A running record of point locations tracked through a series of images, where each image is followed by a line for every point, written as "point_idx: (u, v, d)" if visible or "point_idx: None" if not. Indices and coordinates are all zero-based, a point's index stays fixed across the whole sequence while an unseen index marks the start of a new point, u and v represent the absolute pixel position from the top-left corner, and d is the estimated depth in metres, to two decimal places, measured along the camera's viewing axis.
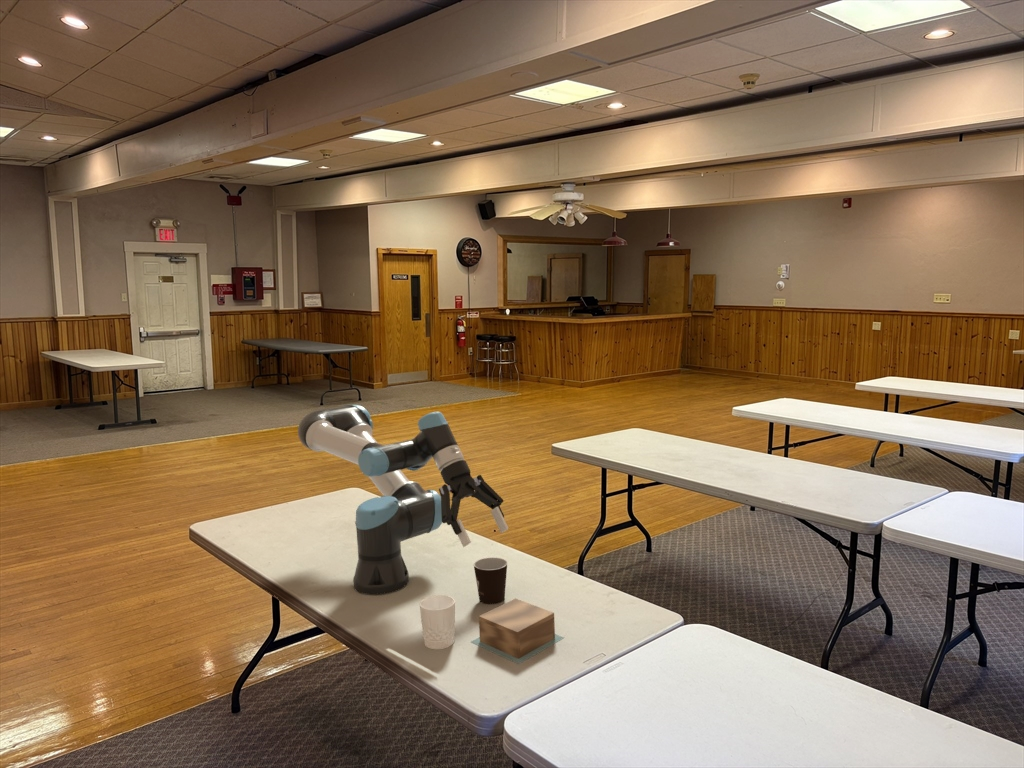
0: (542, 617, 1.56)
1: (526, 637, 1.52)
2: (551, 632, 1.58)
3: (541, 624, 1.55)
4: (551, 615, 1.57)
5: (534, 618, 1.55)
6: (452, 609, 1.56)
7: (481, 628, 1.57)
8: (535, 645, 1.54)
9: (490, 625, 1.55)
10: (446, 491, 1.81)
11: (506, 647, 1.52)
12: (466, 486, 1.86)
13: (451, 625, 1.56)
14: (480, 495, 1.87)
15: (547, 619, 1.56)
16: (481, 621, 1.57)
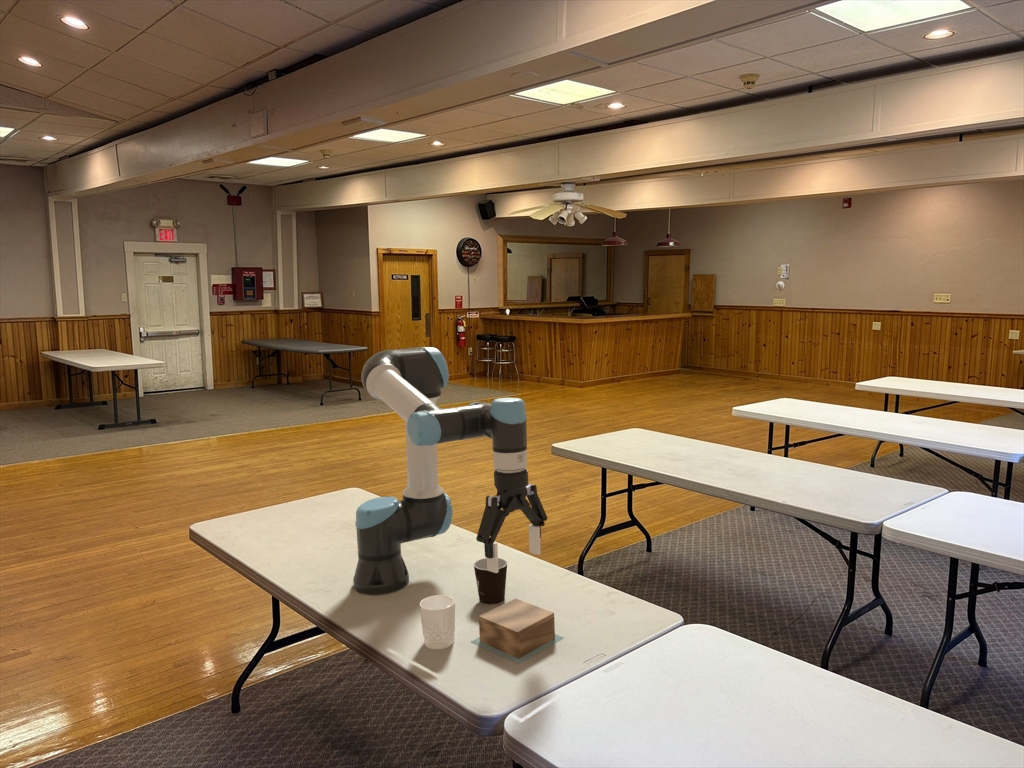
0: (542, 617, 1.56)
1: (526, 637, 1.52)
2: (551, 632, 1.58)
3: (541, 624, 1.55)
4: (551, 615, 1.57)
5: (534, 618, 1.55)
6: (452, 609, 1.56)
7: (481, 628, 1.57)
8: (535, 645, 1.54)
9: (490, 625, 1.55)
10: (494, 507, 1.49)
11: (506, 647, 1.52)
12: (516, 500, 1.54)
13: (451, 625, 1.56)
14: (526, 510, 1.57)
15: (547, 619, 1.56)
16: (481, 621, 1.57)
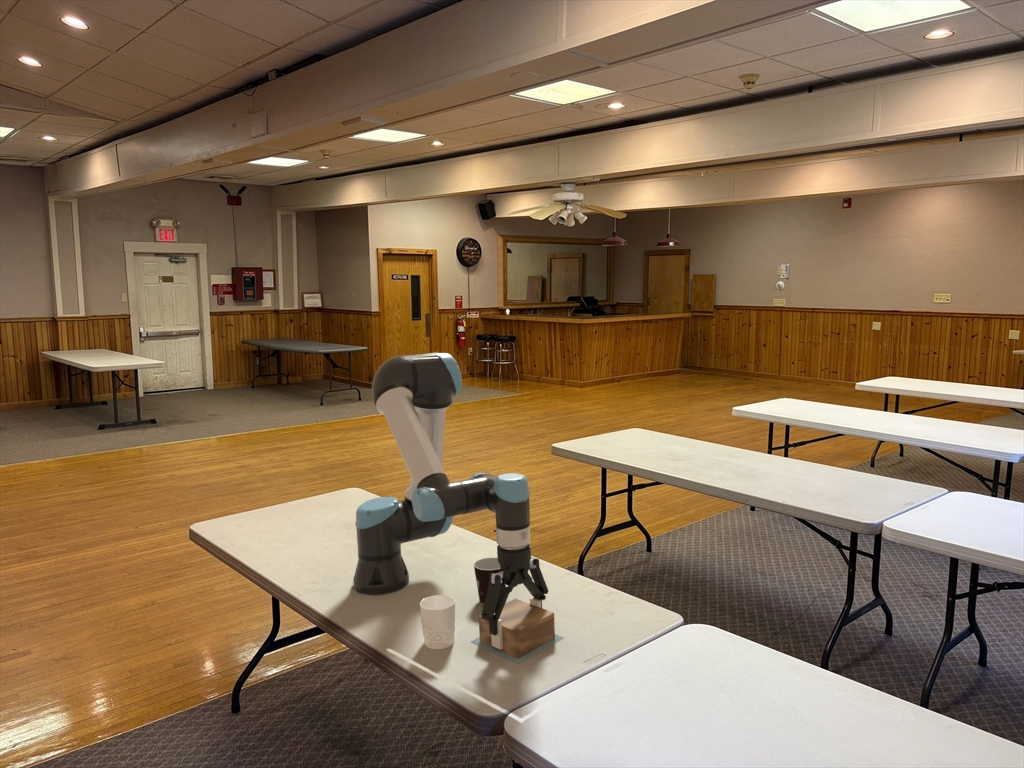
0: (542, 617, 1.56)
1: (526, 637, 1.52)
2: (551, 631, 1.58)
3: (541, 624, 1.55)
4: (551, 615, 1.57)
5: (534, 618, 1.55)
6: (452, 609, 1.56)
7: (481, 628, 1.58)
8: (535, 645, 1.54)
9: None
10: (497, 585, 1.51)
11: (506, 646, 1.52)
12: (519, 574, 1.56)
13: (451, 625, 1.56)
14: (528, 584, 1.59)
15: (547, 619, 1.56)
16: (481, 621, 1.57)
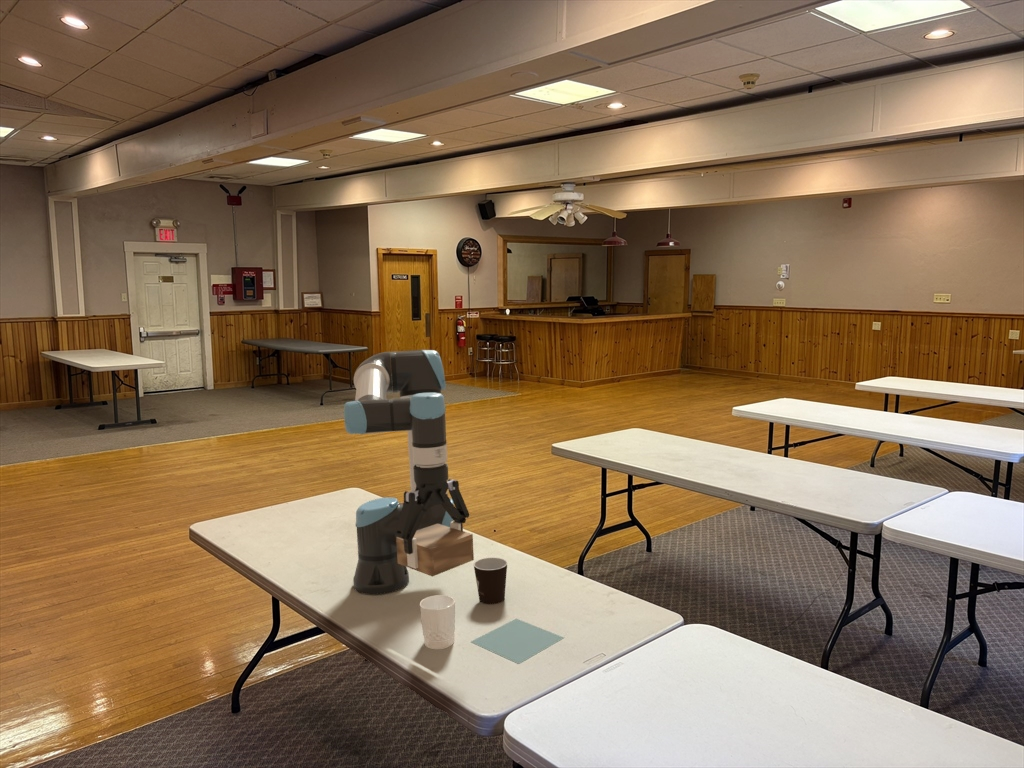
0: (459, 537, 1.54)
1: (441, 555, 1.50)
2: (469, 553, 1.56)
3: (458, 544, 1.53)
4: (469, 536, 1.56)
5: (451, 538, 1.54)
6: (452, 609, 1.56)
7: (398, 549, 1.56)
8: (451, 565, 1.52)
9: None
10: (411, 502, 1.49)
11: (421, 565, 1.51)
12: (436, 494, 1.54)
13: (451, 625, 1.56)
14: (447, 506, 1.57)
15: (465, 540, 1.55)
16: (398, 542, 1.56)
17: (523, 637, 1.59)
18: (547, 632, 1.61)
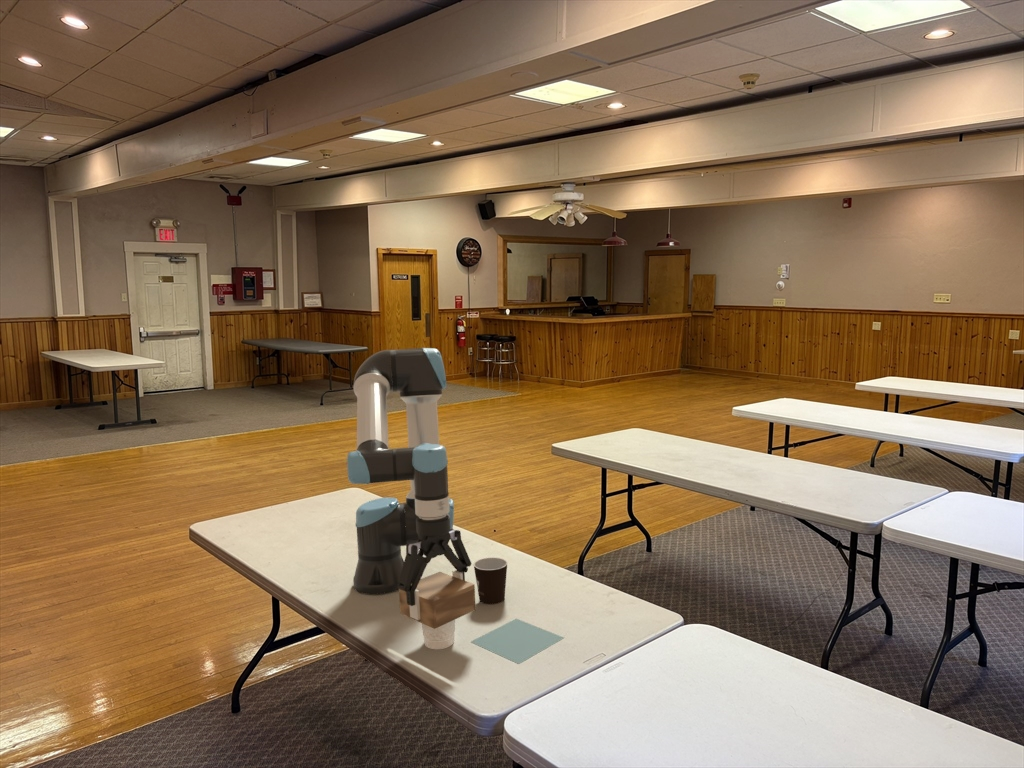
0: (461, 588, 1.55)
1: (443, 607, 1.51)
2: (471, 603, 1.57)
3: (460, 595, 1.55)
4: (471, 586, 1.57)
5: (453, 589, 1.55)
6: None
7: (401, 600, 1.57)
8: (453, 616, 1.53)
9: None
10: (413, 555, 1.51)
11: (423, 617, 1.52)
12: (438, 545, 1.56)
13: (451, 625, 1.56)
14: (449, 556, 1.59)
15: (467, 590, 1.56)
16: (401, 592, 1.57)
17: (523, 637, 1.59)
18: (547, 632, 1.61)
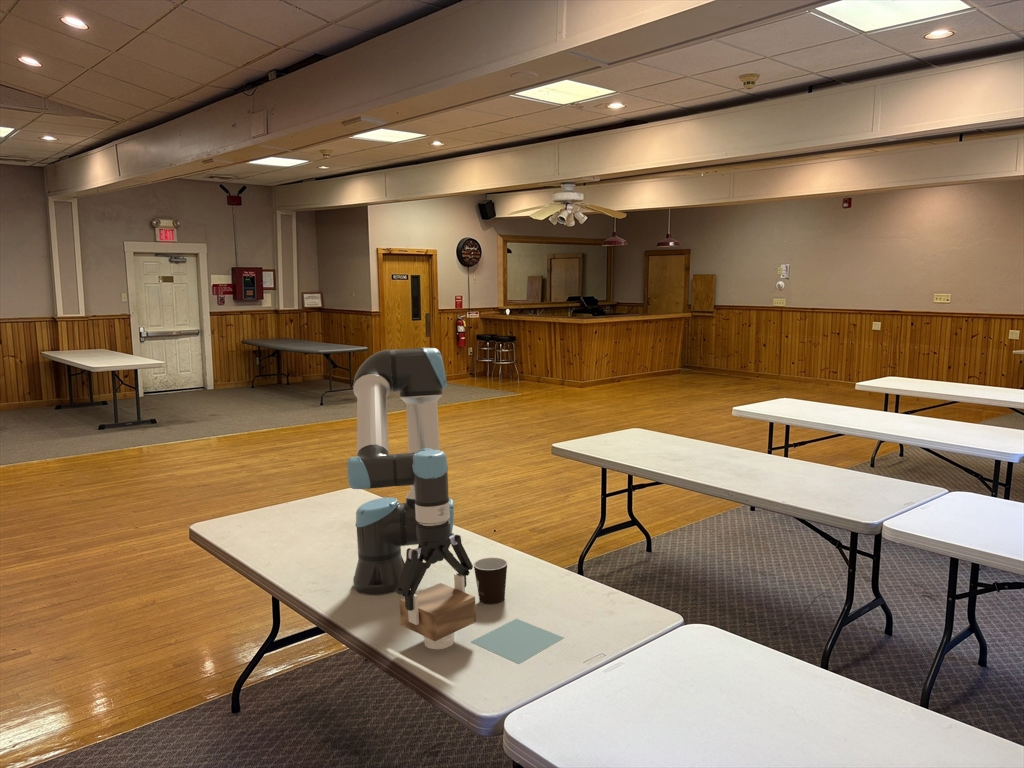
0: (462, 600, 1.56)
1: (443, 620, 1.51)
2: (472, 615, 1.58)
3: (461, 607, 1.55)
4: (472, 599, 1.57)
5: (454, 601, 1.55)
6: None
7: (402, 611, 1.57)
8: (454, 628, 1.54)
9: None
10: (413, 560, 1.51)
11: (424, 629, 1.52)
12: (439, 551, 1.56)
13: None
14: (450, 561, 1.59)
15: (467, 603, 1.56)
16: (401, 604, 1.57)
17: (523, 637, 1.59)
18: (547, 632, 1.61)
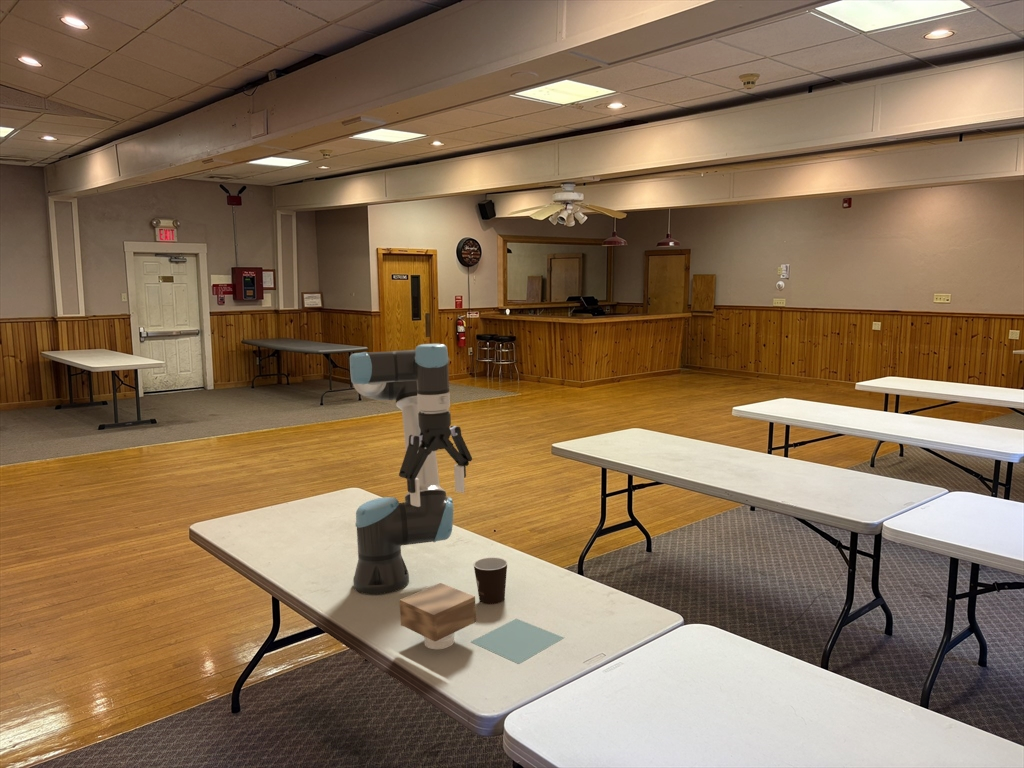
0: (462, 600, 1.56)
1: (443, 620, 1.51)
2: (472, 615, 1.58)
3: (461, 608, 1.55)
4: (472, 599, 1.57)
5: (454, 601, 1.55)
6: None
7: (402, 612, 1.57)
8: (454, 628, 1.54)
9: (409, 608, 1.55)
10: (415, 445, 1.59)
11: (424, 630, 1.52)
12: (439, 440, 1.64)
13: None
14: (450, 450, 1.67)
15: (467, 603, 1.56)
16: (401, 604, 1.57)
17: (523, 637, 1.59)
18: (547, 632, 1.61)
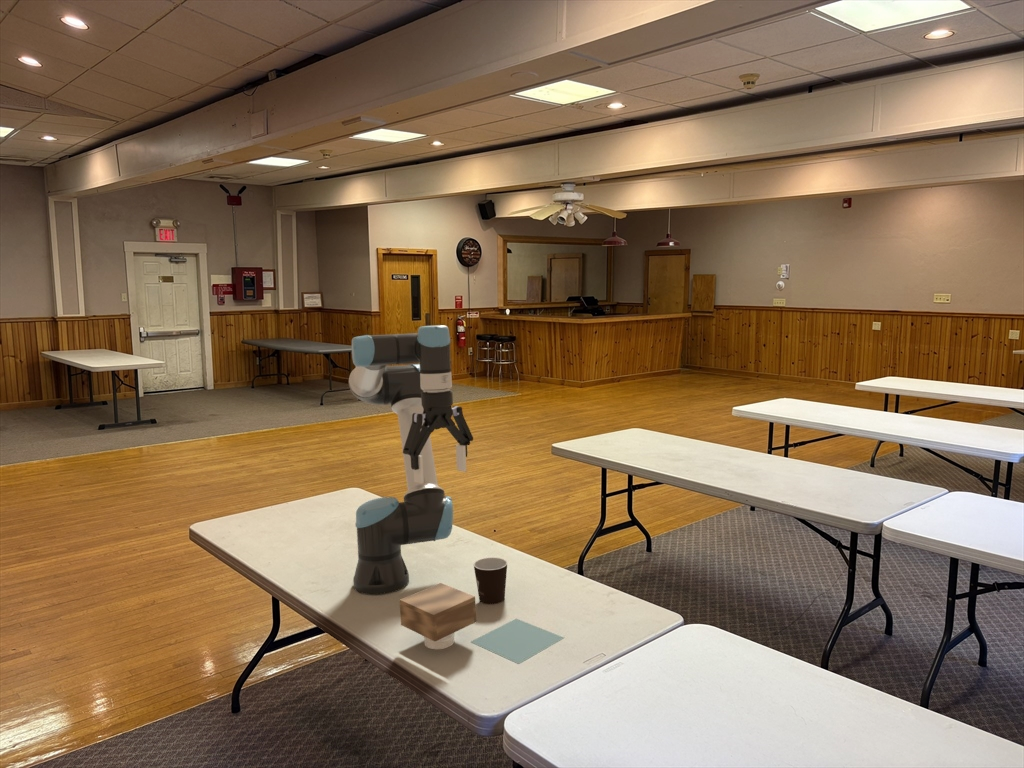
0: (462, 601, 1.56)
1: (443, 620, 1.51)
2: (472, 615, 1.58)
3: (461, 608, 1.55)
4: (472, 599, 1.57)
5: (454, 601, 1.55)
6: None
7: (402, 612, 1.57)
8: (454, 628, 1.54)
9: (409, 608, 1.55)
10: (419, 422, 1.64)
11: (424, 630, 1.52)
12: (442, 418, 1.69)
13: None
14: (452, 430, 1.72)
15: (467, 603, 1.56)
16: (401, 604, 1.57)
17: (523, 637, 1.59)
18: (547, 632, 1.61)
